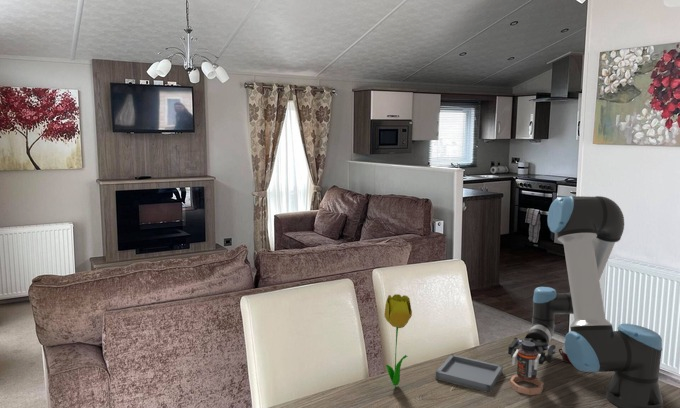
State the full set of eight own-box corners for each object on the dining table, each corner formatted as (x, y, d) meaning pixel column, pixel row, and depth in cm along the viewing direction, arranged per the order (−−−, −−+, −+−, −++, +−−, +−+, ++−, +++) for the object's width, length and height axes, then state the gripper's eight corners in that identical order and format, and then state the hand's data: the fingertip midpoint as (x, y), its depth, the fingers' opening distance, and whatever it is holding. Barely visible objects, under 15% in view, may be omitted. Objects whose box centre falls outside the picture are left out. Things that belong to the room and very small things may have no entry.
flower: (378, 389, 164) (380, 298, 160) (388, 378, 172) (390, 291, 167) (403, 395, 160) (406, 302, 156) (412, 384, 168) (415, 295, 163)
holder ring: (544, 384, 169) (545, 379, 168) (539, 397, 160) (539, 392, 160) (514, 377, 173) (514, 372, 173) (507, 389, 165) (508, 384, 165)
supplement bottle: (512, 374, 168) (514, 341, 167) (526, 371, 171) (528, 338, 169) (526, 382, 163) (528, 348, 161) (540, 379, 165) (542, 345, 164)
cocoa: (555, 358, 189) (556, 326, 188) (571, 356, 191) (571, 324, 190) (572, 368, 180) (573, 335, 179) (588, 366, 182) (589, 333, 180)
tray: (502, 372, 176) (502, 365, 176) (490, 392, 163) (490, 385, 162) (451, 360, 185) (451, 354, 185) (435, 378, 172) (435, 371, 171)
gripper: (566, 355, 177) (556, 381, 157) (509, 343, 186) (493, 367, 167) (567, 333, 176) (557, 358, 156) (510, 323, 185) (494, 345, 166)
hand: (524, 363), depth 161 cm, fingers closed on supplement bottle, 6 cm apart
